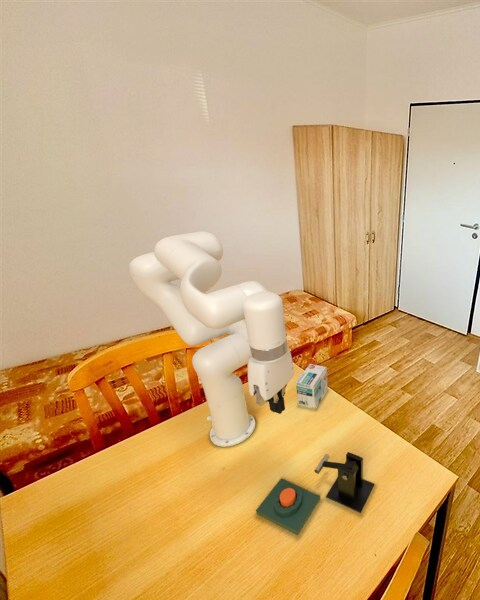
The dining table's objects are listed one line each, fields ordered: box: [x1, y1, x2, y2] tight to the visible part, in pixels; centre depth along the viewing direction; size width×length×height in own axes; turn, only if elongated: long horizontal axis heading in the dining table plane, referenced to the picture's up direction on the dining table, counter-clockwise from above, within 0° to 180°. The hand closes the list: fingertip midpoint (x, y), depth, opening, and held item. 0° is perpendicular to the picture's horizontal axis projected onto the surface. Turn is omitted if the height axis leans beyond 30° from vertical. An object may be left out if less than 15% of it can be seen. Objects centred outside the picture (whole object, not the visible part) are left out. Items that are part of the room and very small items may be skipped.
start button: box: [280, 488, 296, 507], centre depth 77 cm, size 4×4×2 cm
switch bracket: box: [325, 451, 375, 514], centre depth 81 cm, size 10×8×12 cm
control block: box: [255, 477, 321, 536], centre depth 78 cm, size 12×9×4 cm
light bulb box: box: [295, 363, 328, 410], centre depth 111 cm, size 11×7×11 cm, turn 168°
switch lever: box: [313, 453, 359, 475], centre depth 81 cm, size 11×5×2 cm, turn 68°
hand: (277, 409), depth 77 cm, fingers closed
